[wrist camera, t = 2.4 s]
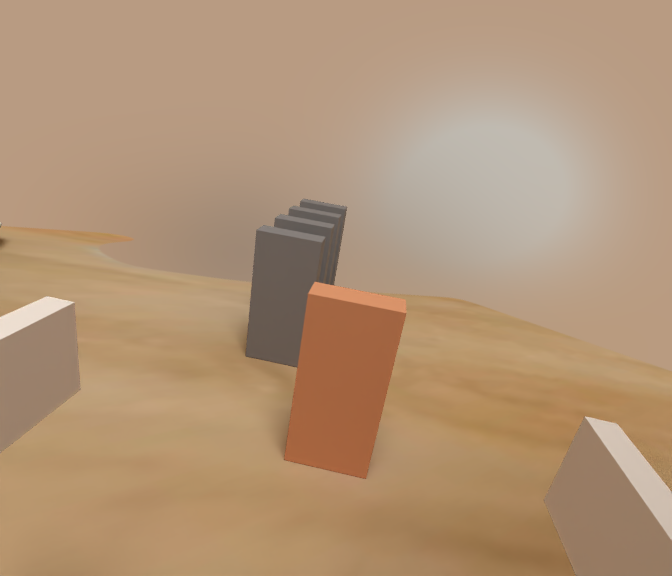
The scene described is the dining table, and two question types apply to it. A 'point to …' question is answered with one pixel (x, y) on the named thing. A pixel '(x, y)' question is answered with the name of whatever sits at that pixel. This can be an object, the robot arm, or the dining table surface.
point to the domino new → (342, 377)
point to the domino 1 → (281, 292)
